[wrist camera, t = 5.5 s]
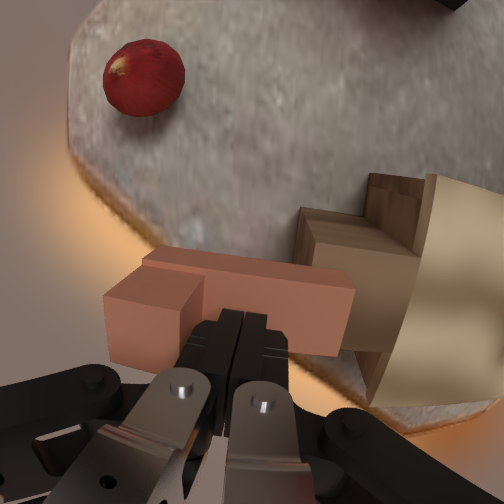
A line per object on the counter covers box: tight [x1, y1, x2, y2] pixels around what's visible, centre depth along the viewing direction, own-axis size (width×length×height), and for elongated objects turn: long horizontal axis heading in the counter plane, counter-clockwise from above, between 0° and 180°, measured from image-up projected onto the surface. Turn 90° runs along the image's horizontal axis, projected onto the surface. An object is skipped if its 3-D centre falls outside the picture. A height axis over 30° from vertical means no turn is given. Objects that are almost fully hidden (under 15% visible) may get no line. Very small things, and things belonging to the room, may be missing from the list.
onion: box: [103, 39, 185, 117], centre depth 18 cm, size 6×6×8 cm
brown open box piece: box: [292, 173, 425, 389], centre depth 18 cm, size 12×27×11 cm, turn 83°
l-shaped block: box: [103, 245, 356, 374], centre depth 11 cm, size 3×8×5 cm, turn 83°
